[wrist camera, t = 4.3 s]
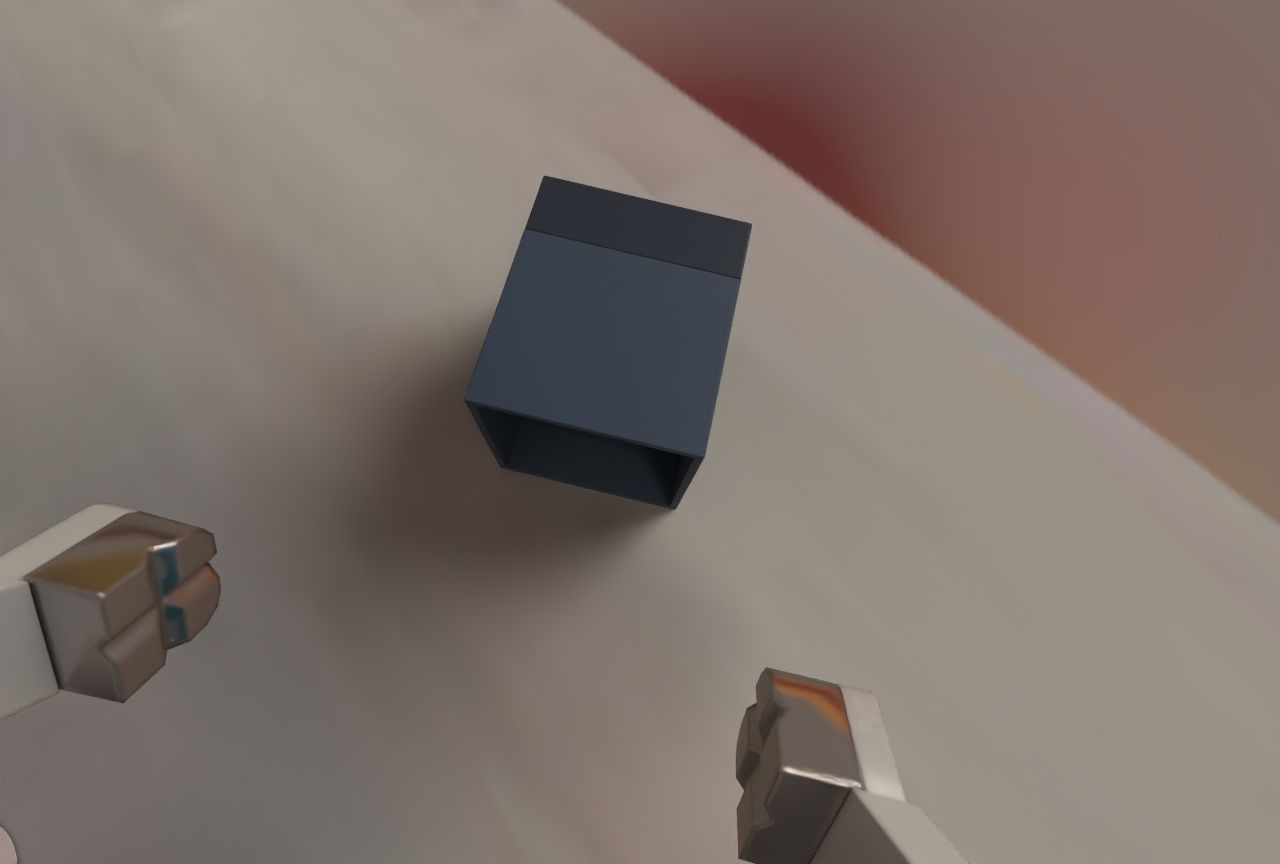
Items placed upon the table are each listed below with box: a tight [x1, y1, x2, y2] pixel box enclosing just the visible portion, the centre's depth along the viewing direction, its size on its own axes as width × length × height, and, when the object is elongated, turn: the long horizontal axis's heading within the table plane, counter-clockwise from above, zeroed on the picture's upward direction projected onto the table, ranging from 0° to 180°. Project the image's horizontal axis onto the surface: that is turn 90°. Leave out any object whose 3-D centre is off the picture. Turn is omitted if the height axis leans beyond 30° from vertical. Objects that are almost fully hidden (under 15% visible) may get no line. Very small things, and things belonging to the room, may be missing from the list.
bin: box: [464, 176, 752, 510], centre depth 20 cm, size 8×6×6 cm
